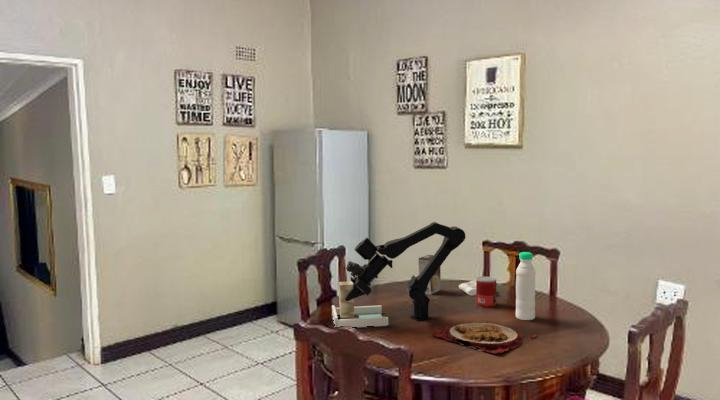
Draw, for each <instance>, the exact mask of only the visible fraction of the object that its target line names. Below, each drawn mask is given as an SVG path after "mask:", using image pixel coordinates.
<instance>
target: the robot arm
mask: <svg viewBox="0 0 720 400" xmlns="http://www.w3.org/2000/svg"><path fill="white" fill-rule="evenodd" d="M465 232H466V231H464V230H463V229H461V228H460V227H458V226H447V225H444V224H441V223H438V222H436V221H433V222H431V223H430V224H428V225H426V226H424V227H422V228H420V229H418V230H416V231H414V232H411V233H410V234H408V235H406V236H404V237H400V238H394V239H392V240H388V241H387V242H385V243H384V244H378V245H375V243H373V242H372V241H371V239H370V238H369V237H366V238H364V239H362V240H361V242H359V243H358V244H357V245H356V246H355V248H354V249H353V250H354V251H355V252H356V253H357V255H359V256H360V257H361V258H362V259H363V260H364V261H366V260H368V263H367V264H366V263H364V264H363V265H360V264H359V263H357V262H353V261H351V260H349V261H348V262H347V265H346V267H345V269H346V271H347V272H349V273H350V281H352V282H353V288H352V290H351V291H350V293H349V294H348V296H347V297H346V299H345V300H346V301H350V300H352V299H354V300H355V299H356V298H359V297H362V296H365V295H366V296H369V295H370V294H371V293H372V288H371V286H372V284H371V283H372V282H373V281H374V280H375V279H378V278H379V276H378V275H380V273H382V271H383V270H384V269H385V268H386V267H387V266H388V267H389V268H390V269H393V263H394V261H393V259H396V258H398V257H399V256H401V255H402V254H403V253H405V252H406V250H407V249H409V248H410V247H412V246H414V245H416V244H418V243H420V242H422V241H425V240H426V239H429V238H430V237H432V236H435V235H436V234H437V235H439V236H442V237H443V239H442V243H441V245H440V247H438V249H437V250H436V252H435V253H434V256H433V257H432V259H431V260H430V261H429V263H428V264H427V266H426V267H425V268H424V270H423V271H422V272H421V274H420V275H419V274H418V275H417V276H415V275H413V274H412V275H411V278H410V280H409V281H407V282H406V284H407V286H406V292H407V295H408V297H409V298H410V299H412V303H411V304H412V309H411V310H412V313H411V314H409V315H408V317H409V318H411V319H414V321H415V320H416V321H418V322H419V321H425V320H430V319H433V317H432V316H431V315H429V304H430V301H431V299H430V297H429V296H428V294H426V293H425V292H426V290H427V287H428V284H429V281H430V280H431V278H432V277H433V276H434V274H435V273H436V272H437V270H438V269H439V267H440V268H441V266H442V265H443V263H444V262H445V261H446V260H447V258H448V256H449V255H450V254H451V253H452V251H454V250H455V249H457V248H458V247H459V246H461V244H462V243H463V242H464V241H465V240H466V233H465Z"/></svg>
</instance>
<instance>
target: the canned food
mask: <svg viewBox="0 0 720 400" xmlns="http://www.w3.org/2000/svg"><path fill="white" fill-rule="evenodd" d="M475 280H476V295H475V297H476V298H475V299H476V300H475V301H476V302H475V303H476V305H477V307H478V306H479V307H483V308H493V307H494V308H495V306H496V305H497V278H495V277H494V276H493V277H492V276H478V277H476V279H475Z"/></svg>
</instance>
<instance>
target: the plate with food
mask: <svg viewBox="0 0 720 400" xmlns="http://www.w3.org/2000/svg"><path fill="white" fill-rule="evenodd" d="M435 328H437V329H441V328H443V329H441V331H438V332H437V331H434V332H432V333H431V332H430V334H431V335H432V336H434V337H436V338H441V339H444V341H447V342H454V343H458V344H460V345H463V346H464V344H463V343H461V342H460V341H465V342H468V343H470V346H469V345H468V346H467V347H468V348H472V349H473V350H477V351H479V352H486V353H491V354H502V353H504V352H507V351H509V350H512V349H515V348H519V347H520V345H521V344H522V342H521V341H520V340H521V338H524V337H525V334H521V333H520V332H517V331H516V330H514V329H513V328H511V327H507V326H505V325H502V324H499V323H498V324H497V323H489V322H487V321H486V322H473V321H471V322H465V323H459V324H455V325H449V326H448V325H445V327H444V326H443V325H440V326H434V329H435ZM529 335H530V336H529V339H530V341H532V339H533V338H536V337H537V335H536V334H531V333H530V334H529ZM531 335H532V336H531ZM523 336H524V337H523ZM530 337H532V338H530ZM459 340H460V341H459ZM528 342H529V340H528V341H527V340H526V343H528ZM491 350H492V351H491Z"/></svg>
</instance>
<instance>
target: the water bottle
mask: <svg viewBox="0 0 720 400" xmlns="http://www.w3.org/2000/svg"><path fill="white" fill-rule="evenodd" d="M518 256H519V257H518V258H519V260H520V263H519V264H518V266H517V268H516V269H515V270H516V271H515V274H516V277H515V278H516V279H515V317H516V319H518V320H521V321H532V320H534V319H535V318H536V309H535V308H536V269H535V268H534V265H533V263H532V261H533V256H534V255H533V253H532V252H529V251H522V252H519V255H518Z"/></svg>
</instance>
